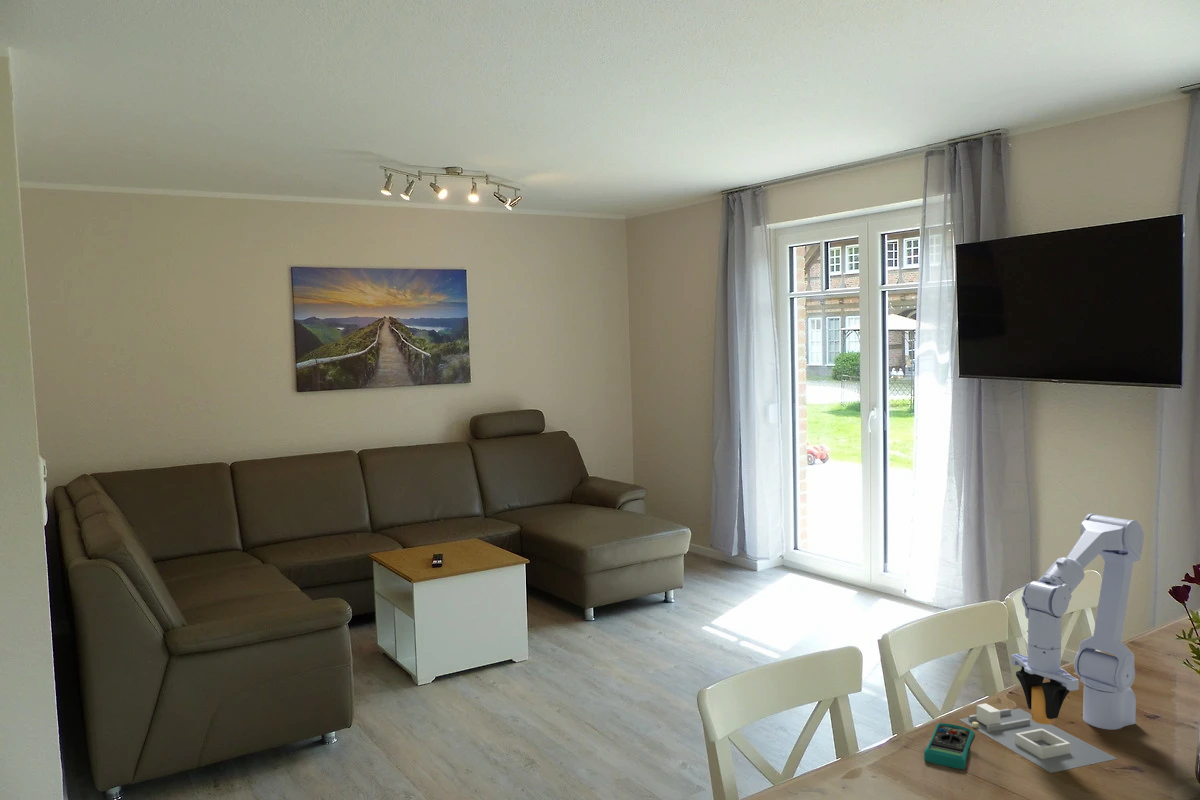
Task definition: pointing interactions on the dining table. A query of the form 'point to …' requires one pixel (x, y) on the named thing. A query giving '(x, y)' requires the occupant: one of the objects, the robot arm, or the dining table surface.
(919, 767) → the dining table surface
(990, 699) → the dining table surface
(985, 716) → the block
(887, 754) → the dining table surface
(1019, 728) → the panel
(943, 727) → the digital multimeter
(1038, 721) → the cap
